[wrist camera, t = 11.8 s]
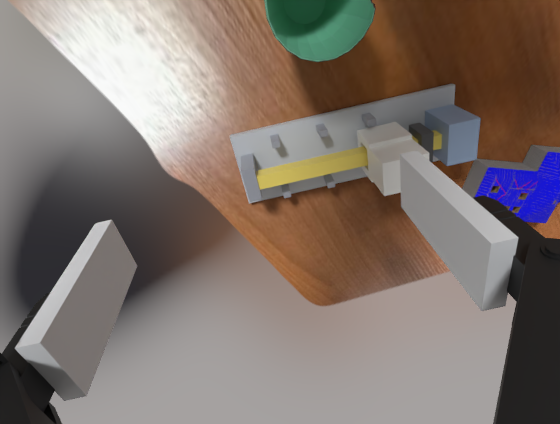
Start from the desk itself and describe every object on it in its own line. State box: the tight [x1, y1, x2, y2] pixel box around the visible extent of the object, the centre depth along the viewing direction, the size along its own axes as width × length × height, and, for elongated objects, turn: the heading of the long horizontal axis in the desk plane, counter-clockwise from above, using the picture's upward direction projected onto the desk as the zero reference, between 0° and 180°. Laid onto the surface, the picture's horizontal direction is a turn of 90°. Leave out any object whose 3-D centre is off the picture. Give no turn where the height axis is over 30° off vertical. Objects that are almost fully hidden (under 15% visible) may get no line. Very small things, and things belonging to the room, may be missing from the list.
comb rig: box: [230, 84, 481, 203], centre depth 45 cm, size 29×10×7 cm, turn 102°
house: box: [462, 145, 560, 223], centre depth 51 cm, size 11×15×5 cm
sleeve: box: [357, 122, 429, 196], centre depth 42 cm, size 5×5×9 cm
